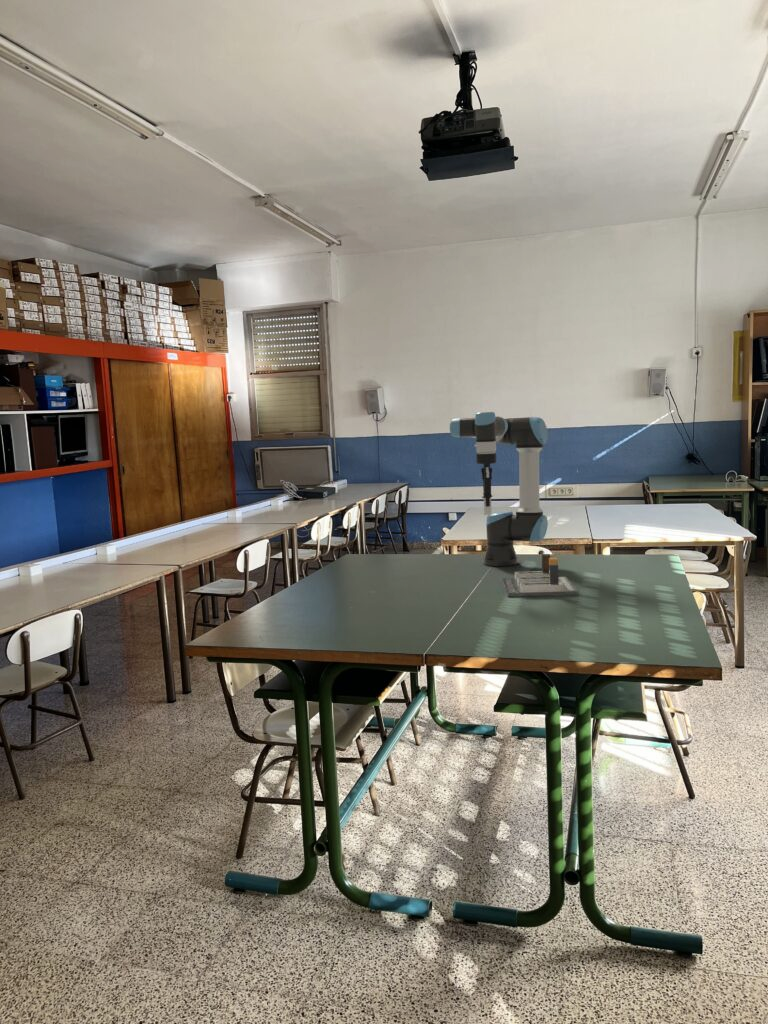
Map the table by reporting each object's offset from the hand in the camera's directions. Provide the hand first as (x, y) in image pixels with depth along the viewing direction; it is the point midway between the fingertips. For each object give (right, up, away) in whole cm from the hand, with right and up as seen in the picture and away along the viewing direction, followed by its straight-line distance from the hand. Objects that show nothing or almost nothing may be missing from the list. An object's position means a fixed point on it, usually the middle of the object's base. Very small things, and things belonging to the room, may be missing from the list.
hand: (487, 514), depth 287 cm
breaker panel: (+19, -28, -2) cm, 34 cm away
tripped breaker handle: (+25, -24, -3) cm, 34 cm away
